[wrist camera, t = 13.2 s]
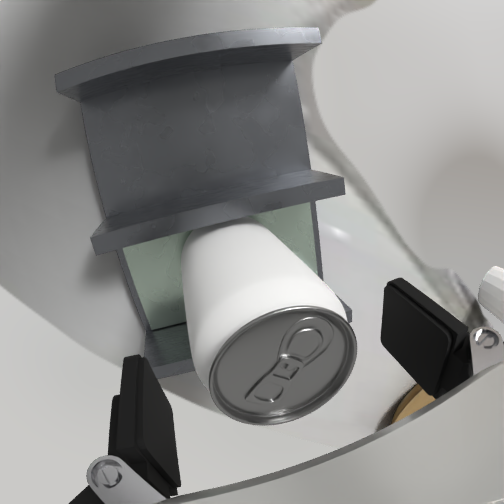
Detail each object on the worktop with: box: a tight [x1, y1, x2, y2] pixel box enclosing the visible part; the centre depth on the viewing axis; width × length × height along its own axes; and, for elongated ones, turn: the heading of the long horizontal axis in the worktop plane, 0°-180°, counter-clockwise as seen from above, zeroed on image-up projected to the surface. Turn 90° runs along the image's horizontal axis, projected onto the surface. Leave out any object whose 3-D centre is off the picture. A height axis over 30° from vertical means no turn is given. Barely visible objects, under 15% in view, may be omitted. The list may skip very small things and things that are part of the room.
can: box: [181, 216, 357, 425], centre depth 16 cm, size 6×6×12 cm
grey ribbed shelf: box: [55, 27, 352, 379], centre depth 19 cm, size 20×14×6 cm
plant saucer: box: [391, 384, 436, 425], centre depth 36 cm, size 15×15×3 cm
